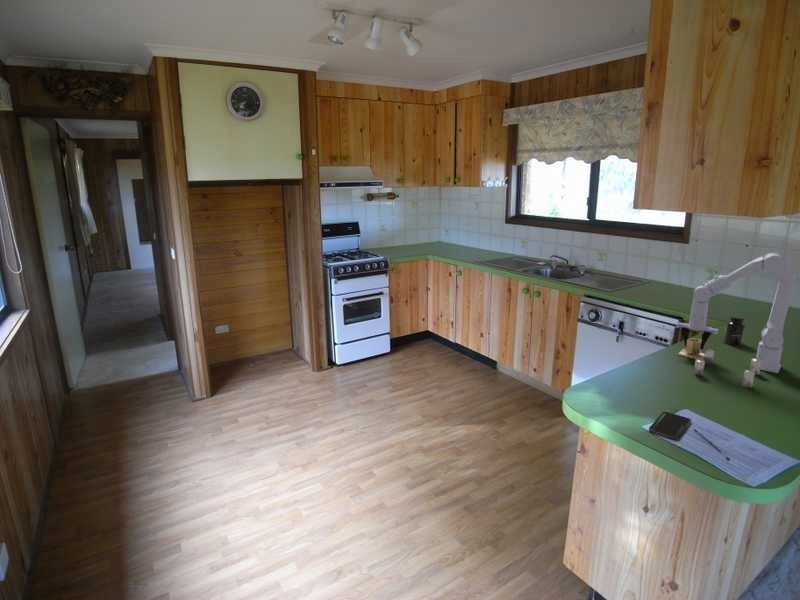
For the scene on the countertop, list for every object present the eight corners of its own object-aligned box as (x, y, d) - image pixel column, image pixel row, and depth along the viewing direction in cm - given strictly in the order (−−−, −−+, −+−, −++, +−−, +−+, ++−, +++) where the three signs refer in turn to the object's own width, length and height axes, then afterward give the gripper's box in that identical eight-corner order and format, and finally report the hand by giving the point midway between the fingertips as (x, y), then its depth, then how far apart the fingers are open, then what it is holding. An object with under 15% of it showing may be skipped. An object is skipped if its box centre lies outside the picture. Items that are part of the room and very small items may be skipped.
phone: (648, 429, 138) (664, 410, 148) (647, 432, 138) (663, 414, 148) (678, 438, 132) (692, 419, 143) (677, 442, 133) (692, 422, 143)
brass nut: (688, 348, 198) (689, 336, 197) (701, 351, 195) (703, 339, 194) (684, 352, 194) (686, 340, 193) (698, 354, 191) (700, 342, 190)
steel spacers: (704, 361, 189) (706, 348, 188) (759, 373, 177) (762, 359, 175) (692, 374, 176) (694, 360, 175) (751, 388, 164) (754, 373, 163)
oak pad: (682, 350, 201) (682, 349, 200) (707, 356, 195) (707, 354, 194) (678, 355, 196) (678, 353, 195) (703, 360, 190) (703, 358, 189)
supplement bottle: (733, 346, 205) (738, 319, 202) (719, 341, 212) (723, 315, 209) (746, 344, 207) (750, 318, 204) (731, 339, 213) (735, 314, 210)
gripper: (675, 314, 193) (671, 345, 196) (717, 321, 183) (712, 354, 187) (680, 310, 198) (676, 341, 201) (721, 317, 188) (716, 349, 191)
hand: (693, 347), depth 194 cm, fingers closed on brass nut, 5 cm apart
